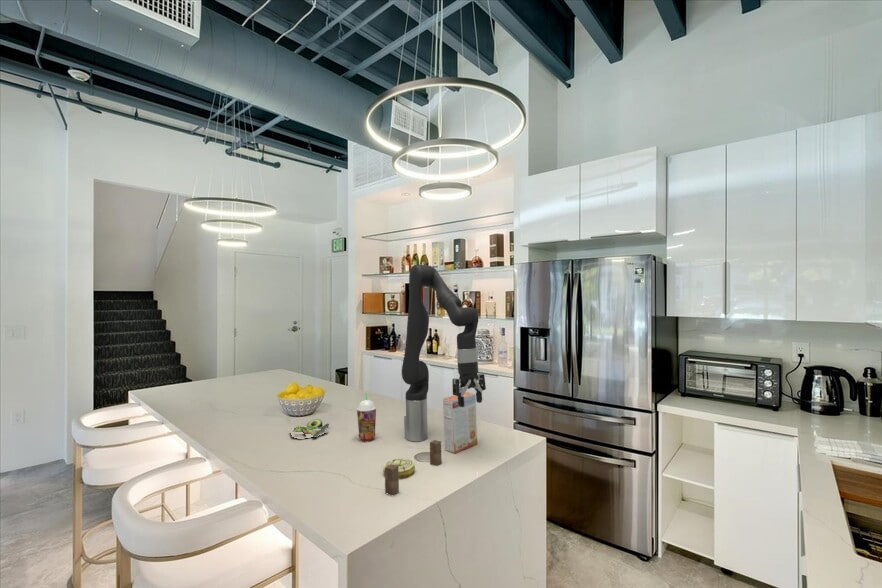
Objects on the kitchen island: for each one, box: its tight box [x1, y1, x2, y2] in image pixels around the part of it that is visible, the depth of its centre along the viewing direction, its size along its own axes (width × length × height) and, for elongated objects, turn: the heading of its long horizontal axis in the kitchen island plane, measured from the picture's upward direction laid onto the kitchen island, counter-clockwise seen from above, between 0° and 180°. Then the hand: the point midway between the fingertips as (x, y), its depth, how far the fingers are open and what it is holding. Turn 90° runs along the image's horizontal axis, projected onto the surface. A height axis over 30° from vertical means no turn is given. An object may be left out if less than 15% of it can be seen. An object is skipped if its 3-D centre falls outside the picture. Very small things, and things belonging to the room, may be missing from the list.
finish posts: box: [384, 439, 443, 496], centre depth 136 cm, size 3×28×8 cm, turn 147°
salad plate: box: [292, 418, 330, 438], centre depth 183 cm, size 19×18×5 cm
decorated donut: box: [382, 458, 416, 479], centre depth 140 cm, size 10×11×4 cm
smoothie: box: [356, 392, 377, 442], centre depth 174 cm, size 8×8×20 cm
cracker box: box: [442, 391, 478, 454], centre depth 162 cm, size 14×6×21 cm, turn 134°
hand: (470, 404), depth 148 cm, fingers open, 8 cm apart
